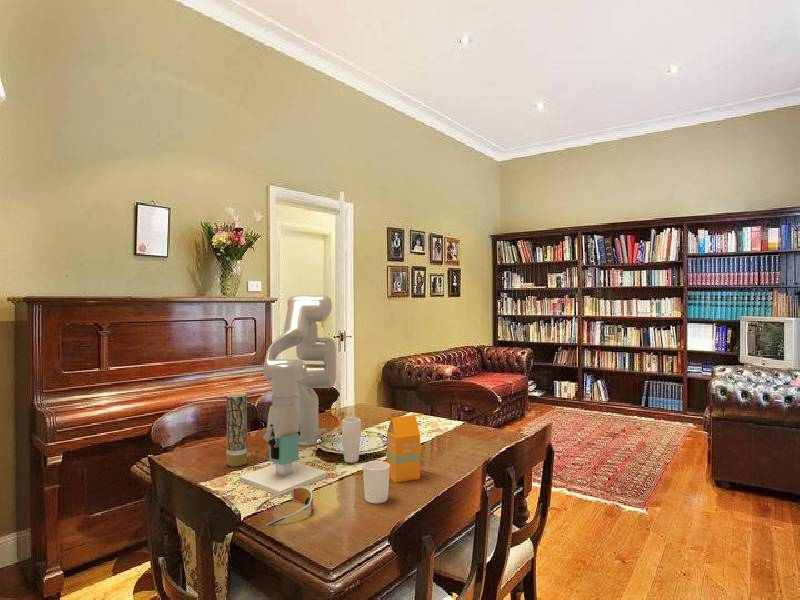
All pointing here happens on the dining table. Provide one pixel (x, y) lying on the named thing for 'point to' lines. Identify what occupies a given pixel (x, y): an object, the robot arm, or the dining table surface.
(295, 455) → the mint green cube
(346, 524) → the dining table surface
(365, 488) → the white cup
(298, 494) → the sunglasses
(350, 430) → the drinking glass
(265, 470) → the post board
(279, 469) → the grey upright block
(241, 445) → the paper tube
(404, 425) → the orange juice
